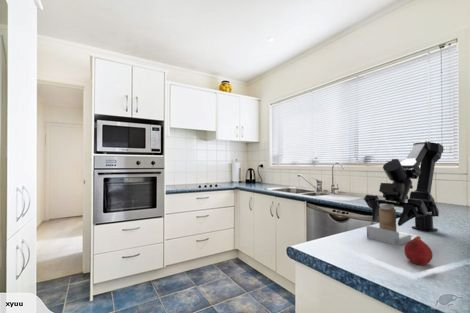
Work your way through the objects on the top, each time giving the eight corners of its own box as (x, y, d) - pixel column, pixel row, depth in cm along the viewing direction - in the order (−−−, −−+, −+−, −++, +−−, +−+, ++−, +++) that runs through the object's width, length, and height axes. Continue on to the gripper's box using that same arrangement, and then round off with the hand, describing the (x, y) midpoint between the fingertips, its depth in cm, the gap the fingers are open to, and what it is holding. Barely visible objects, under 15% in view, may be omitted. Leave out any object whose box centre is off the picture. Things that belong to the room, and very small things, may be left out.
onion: (421, 272, 56) (420, 240, 57) (399, 263, 62) (398, 233, 62) (438, 269, 58) (437, 238, 58) (415, 260, 63) (414, 232, 64)
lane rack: (390, 232, 91) (390, 220, 91) (420, 239, 82) (420, 225, 82) (367, 239, 82) (366, 225, 82) (398, 248, 73) (397, 232, 74)
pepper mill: (386, 235, 83) (384, 203, 84) (400, 239, 78) (398, 205, 79) (376, 237, 81) (375, 204, 82) (390, 241, 77) (388, 206, 77)
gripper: (365, 174, 91) (350, 204, 85) (422, 175, 75) (408, 212, 69) (376, 192, 95) (362, 222, 89) (432, 197, 79) (420, 234, 72)
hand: (385, 222), depth 79 cm, fingers open, 8 cm apart
